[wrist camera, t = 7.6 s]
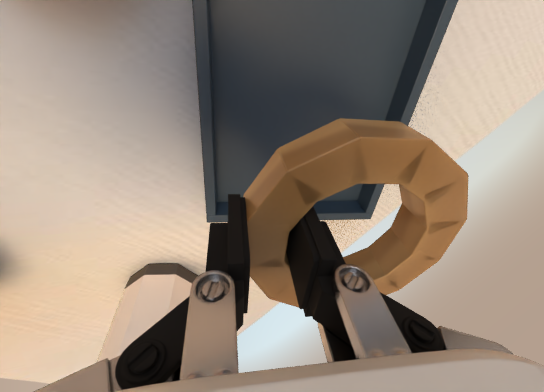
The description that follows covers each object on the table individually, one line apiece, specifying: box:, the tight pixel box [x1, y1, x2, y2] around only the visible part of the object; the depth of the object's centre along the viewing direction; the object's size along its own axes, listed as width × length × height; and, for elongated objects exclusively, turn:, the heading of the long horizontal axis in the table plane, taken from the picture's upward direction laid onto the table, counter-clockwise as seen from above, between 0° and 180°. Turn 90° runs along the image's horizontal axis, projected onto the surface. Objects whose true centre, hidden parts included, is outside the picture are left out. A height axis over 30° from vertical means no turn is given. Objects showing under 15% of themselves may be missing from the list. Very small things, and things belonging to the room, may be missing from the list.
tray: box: [192, 0, 458, 222], centre depth 17 cm, size 28×16×3 cm, turn 175°
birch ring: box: [243, 118, 468, 307], centre depth 12 cm, size 10×10×2 cm
